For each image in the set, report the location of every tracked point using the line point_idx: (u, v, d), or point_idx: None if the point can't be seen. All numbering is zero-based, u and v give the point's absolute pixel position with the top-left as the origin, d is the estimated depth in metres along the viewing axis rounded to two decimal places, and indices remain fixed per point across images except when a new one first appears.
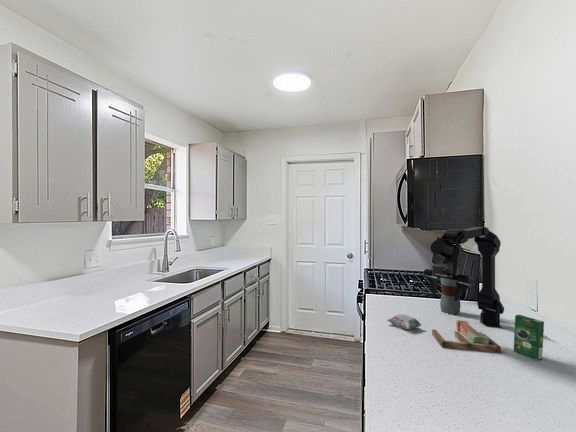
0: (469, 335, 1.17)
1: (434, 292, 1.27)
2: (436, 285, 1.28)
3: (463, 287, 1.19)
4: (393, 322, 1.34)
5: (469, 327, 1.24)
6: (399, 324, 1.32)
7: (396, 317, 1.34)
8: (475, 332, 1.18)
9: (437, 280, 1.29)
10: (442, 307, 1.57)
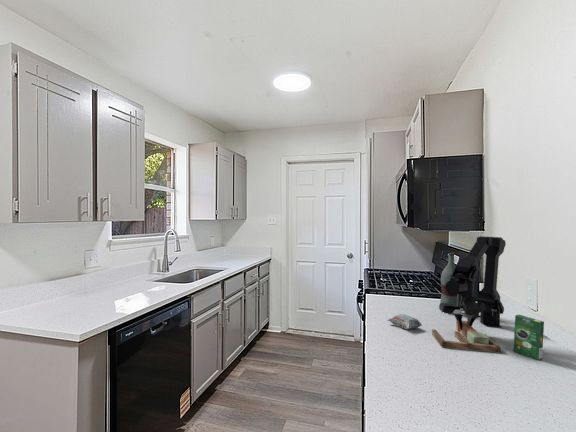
0: (469, 335, 1.17)
1: None
2: None
3: None
4: (394, 322, 1.34)
5: (469, 327, 1.24)
6: (399, 324, 1.32)
7: (397, 317, 1.34)
8: (475, 332, 1.18)
9: None
10: None
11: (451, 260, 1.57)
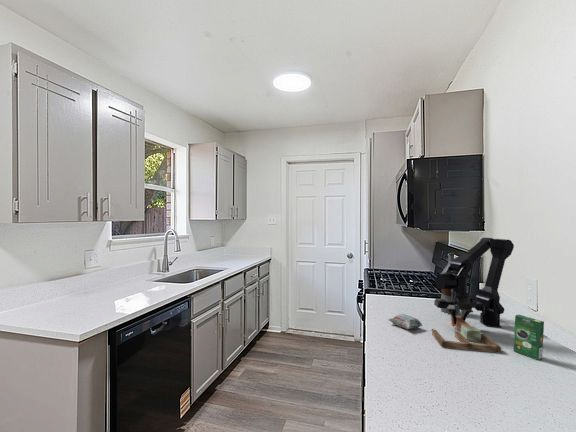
0: (463, 329, 1.24)
1: None
2: None
3: None
4: (394, 322, 1.35)
5: (463, 322, 1.30)
6: (400, 324, 1.32)
7: (397, 317, 1.34)
8: (469, 326, 1.25)
9: None
10: None
11: (451, 260, 1.57)
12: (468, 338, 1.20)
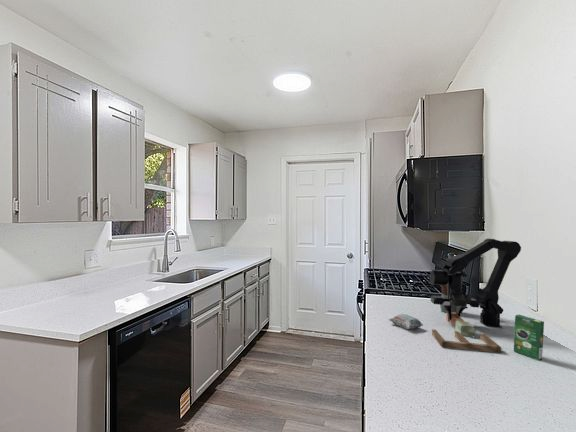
0: (457, 324, 1.29)
1: None
2: None
3: None
4: (394, 322, 1.35)
5: (458, 317, 1.36)
6: (400, 324, 1.32)
7: (397, 317, 1.35)
8: (463, 321, 1.31)
9: None
10: (442, 307, 1.57)
11: None
12: (462, 333, 1.26)
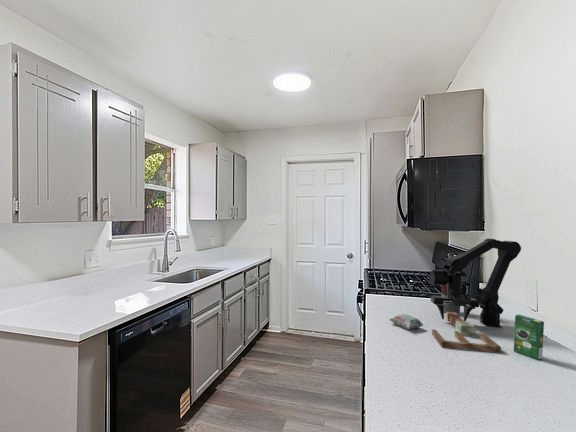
0: (457, 324, 1.29)
1: None
2: None
3: None
4: (395, 321, 1.35)
5: (457, 317, 1.36)
6: (400, 324, 1.32)
7: (398, 317, 1.35)
8: (463, 321, 1.31)
9: None
10: None
11: None
12: (462, 333, 1.26)
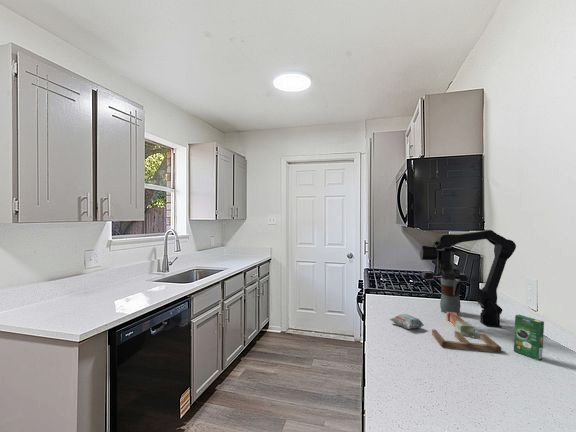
0: (457, 324, 1.29)
1: None
2: None
3: None
4: (395, 321, 1.35)
5: (458, 317, 1.36)
6: (401, 323, 1.32)
7: (398, 316, 1.35)
8: (463, 321, 1.31)
9: None
10: (442, 307, 1.57)
11: (451, 260, 1.57)
12: (462, 333, 1.26)
